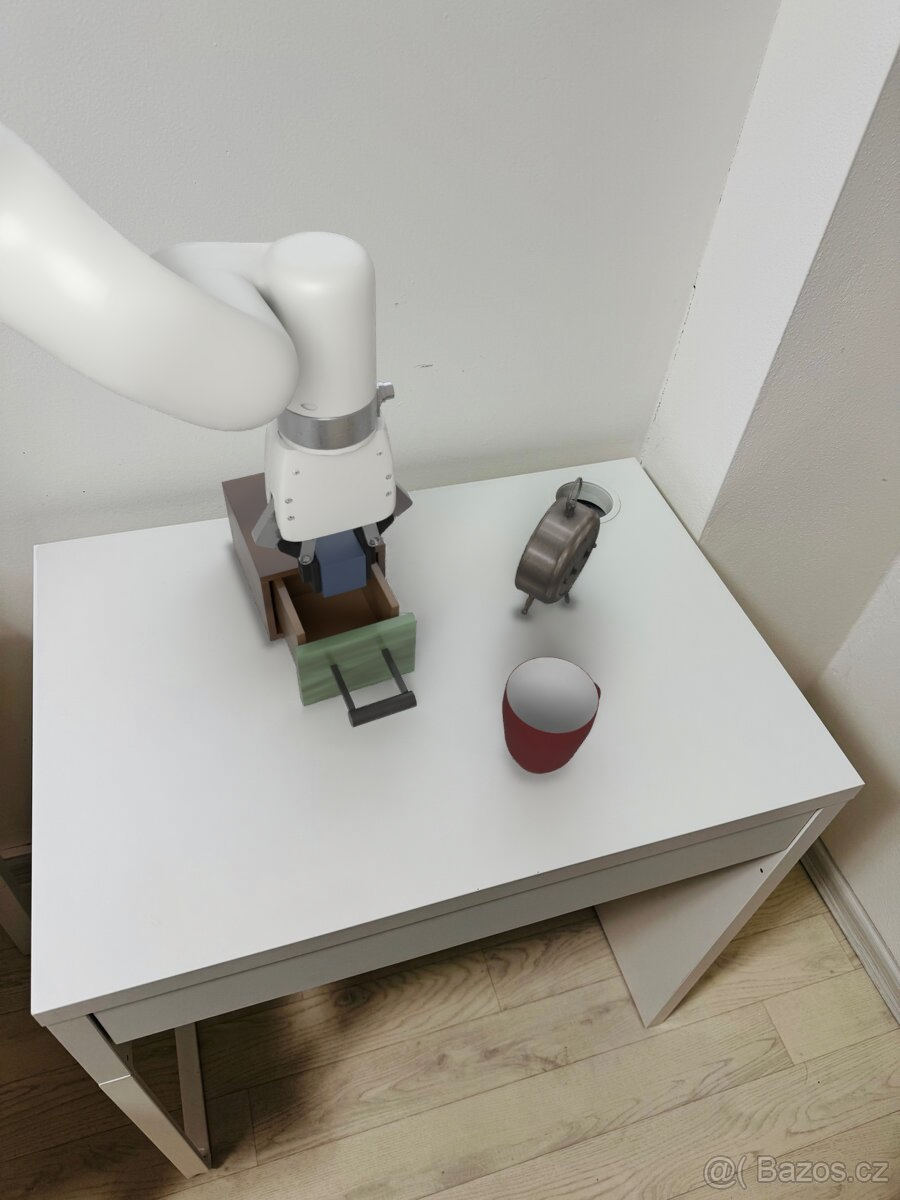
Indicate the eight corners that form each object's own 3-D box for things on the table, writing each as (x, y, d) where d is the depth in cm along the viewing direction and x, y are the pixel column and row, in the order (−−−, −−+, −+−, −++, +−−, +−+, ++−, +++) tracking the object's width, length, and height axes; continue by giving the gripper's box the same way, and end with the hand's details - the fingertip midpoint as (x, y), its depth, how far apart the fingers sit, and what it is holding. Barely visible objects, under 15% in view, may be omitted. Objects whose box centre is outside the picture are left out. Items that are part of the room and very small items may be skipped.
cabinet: (385, 608, 89) (385, 544, 82) (270, 641, 85) (259, 577, 78) (340, 520, 98) (337, 455, 91) (234, 547, 94) (221, 481, 87)
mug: (549, 690, 83) (565, 626, 76) (613, 742, 80) (636, 680, 72) (475, 753, 78) (485, 691, 71) (540, 811, 75) (557, 752, 67)
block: (324, 598, 75) (321, 567, 72) (310, 567, 77) (307, 536, 74) (366, 586, 76) (365, 555, 73) (351, 556, 78) (350, 525, 75)
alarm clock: (553, 555, 96) (577, 441, 84) (595, 575, 94) (626, 462, 82) (505, 613, 90) (524, 500, 78) (549, 636, 88) (575, 524, 76)
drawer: (442, 725, 79) (446, 676, 73) (326, 765, 75) (321, 717, 70) (367, 578, 91) (365, 526, 85) (264, 607, 87) (255, 554, 81)
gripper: (411, 361, 67) (407, 526, 81) (203, 403, 62) (236, 572, 76) (449, 414, 63) (438, 579, 77) (228, 464, 58) (259, 631, 71)
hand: (337, 574), depth 76 cm, fingers closed on block, 4 cm apart
